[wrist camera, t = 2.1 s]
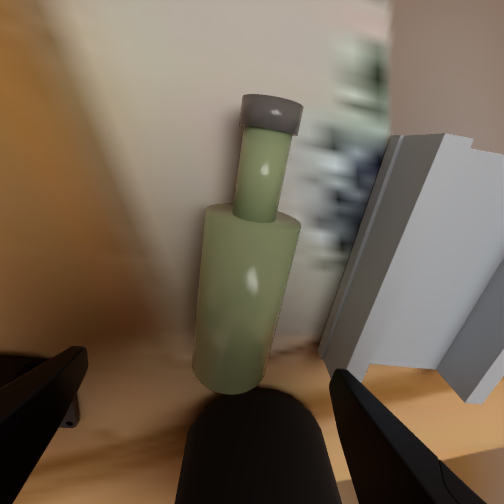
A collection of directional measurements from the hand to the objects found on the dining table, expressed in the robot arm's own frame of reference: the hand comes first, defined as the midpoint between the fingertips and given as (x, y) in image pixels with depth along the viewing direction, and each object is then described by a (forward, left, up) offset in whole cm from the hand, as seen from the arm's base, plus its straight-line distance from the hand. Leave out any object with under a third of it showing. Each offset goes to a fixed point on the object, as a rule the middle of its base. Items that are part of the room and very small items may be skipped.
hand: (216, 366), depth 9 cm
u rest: (+2, -12, -7) cm, 14 cm away
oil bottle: (+2, 0, -6) cm, 7 cm away
